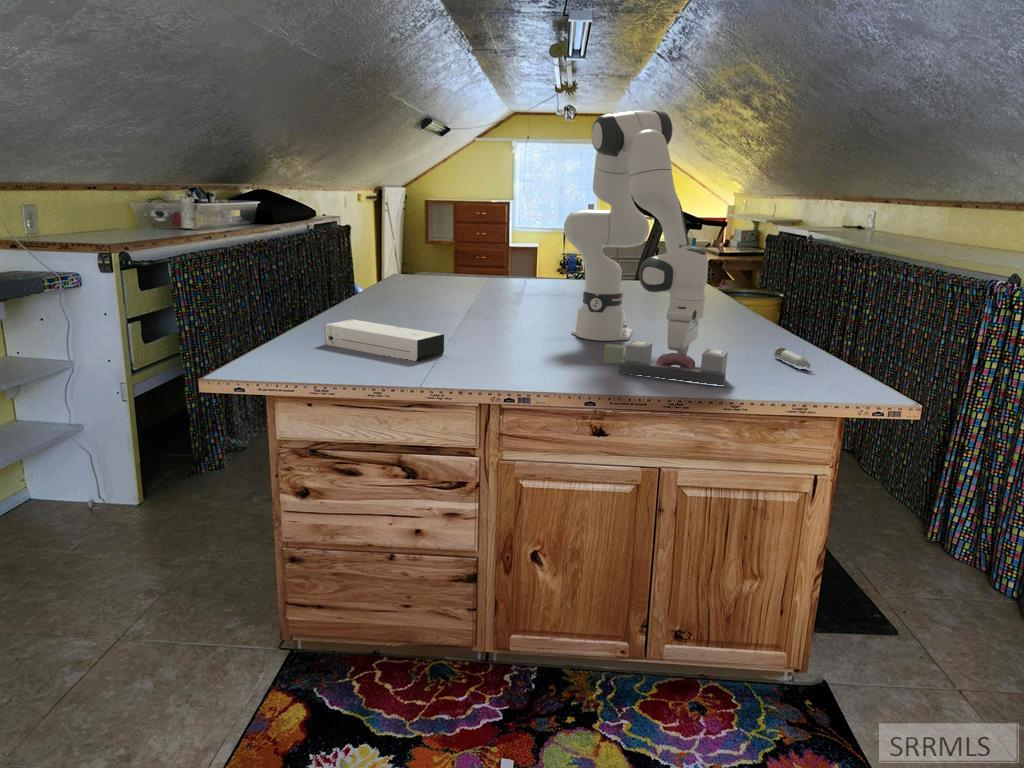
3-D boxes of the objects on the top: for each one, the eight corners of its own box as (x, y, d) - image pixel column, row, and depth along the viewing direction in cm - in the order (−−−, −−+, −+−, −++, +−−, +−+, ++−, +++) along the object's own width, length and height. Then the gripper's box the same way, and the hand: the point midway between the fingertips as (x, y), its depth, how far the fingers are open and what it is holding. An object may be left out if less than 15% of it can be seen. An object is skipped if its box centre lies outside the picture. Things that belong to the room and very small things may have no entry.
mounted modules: (631, 367, 192) (633, 339, 190) (724, 379, 183) (727, 350, 181) (623, 373, 186) (626, 344, 184) (720, 385, 177) (723, 355, 175)
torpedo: (768, 358, 209) (771, 336, 207) (784, 358, 210) (787, 336, 208) (800, 374, 192) (803, 349, 190) (817, 374, 192) (820, 349, 191)
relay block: (605, 359, 201) (606, 343, 199) (623, 361, 199) (624, 345, 198) (603, 363, 197) (604, 346, 196) (622, 364, 196) (623, 348, 194)
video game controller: (694, 383, 184) (697, 357, 185) (693, 379, 180) (696, 352, 181) (654, 379, 187) (657, 353, 188) (653, 375, 183) (656, 348, 184)
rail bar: (620, 372, 187) (620, 359, 186) (724, 386, 176) (725, 373, 175) (617, 374, 184) (618, 361, 184) (722, 388, 174) (724, 375, 173)
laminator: (444, 356, 200) (444, 334, 199) (415, 364, 190) (415, 341, 189) (353, 339, 218) (352, 319, 216) (322, 346, 208) (321, 324, 206)
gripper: (683, 302, 200) (678, 352, 204) (664, 313, 182) (660, 367, 186) (706, 304, 197) (701, 354, 201) (690, 316, 179) (685, 370, 183)
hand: (681, 361), depth 193 cm, fingers closed
